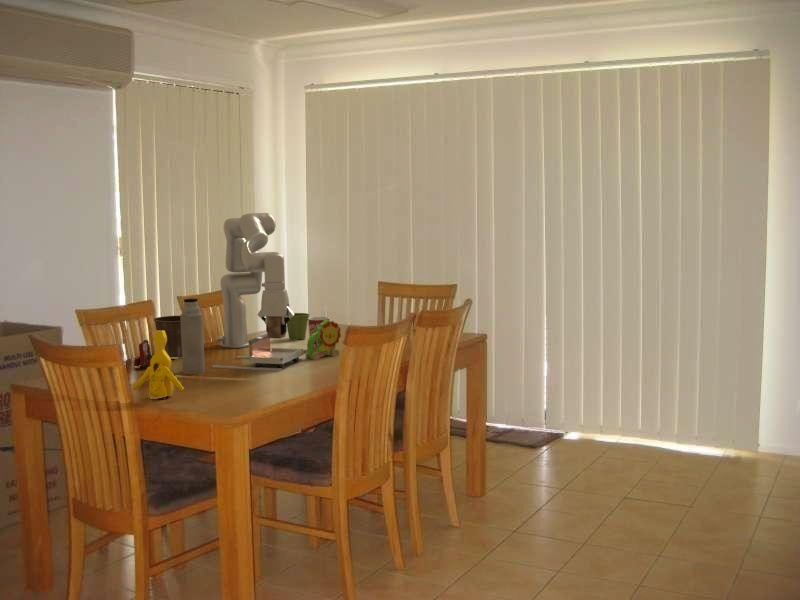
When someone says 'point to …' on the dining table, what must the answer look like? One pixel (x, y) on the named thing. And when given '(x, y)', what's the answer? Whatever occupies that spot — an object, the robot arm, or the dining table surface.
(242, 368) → the grey flat rectangular piece
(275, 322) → the walnut block
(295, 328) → the plant pot
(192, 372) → the thermos bottle
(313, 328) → the mug
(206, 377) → the dining table surface
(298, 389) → the dining table surface
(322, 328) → the toy lion
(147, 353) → the toy fire truck
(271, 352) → the grey l-shaped piece
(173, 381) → the figure statuette
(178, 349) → the plant pot
